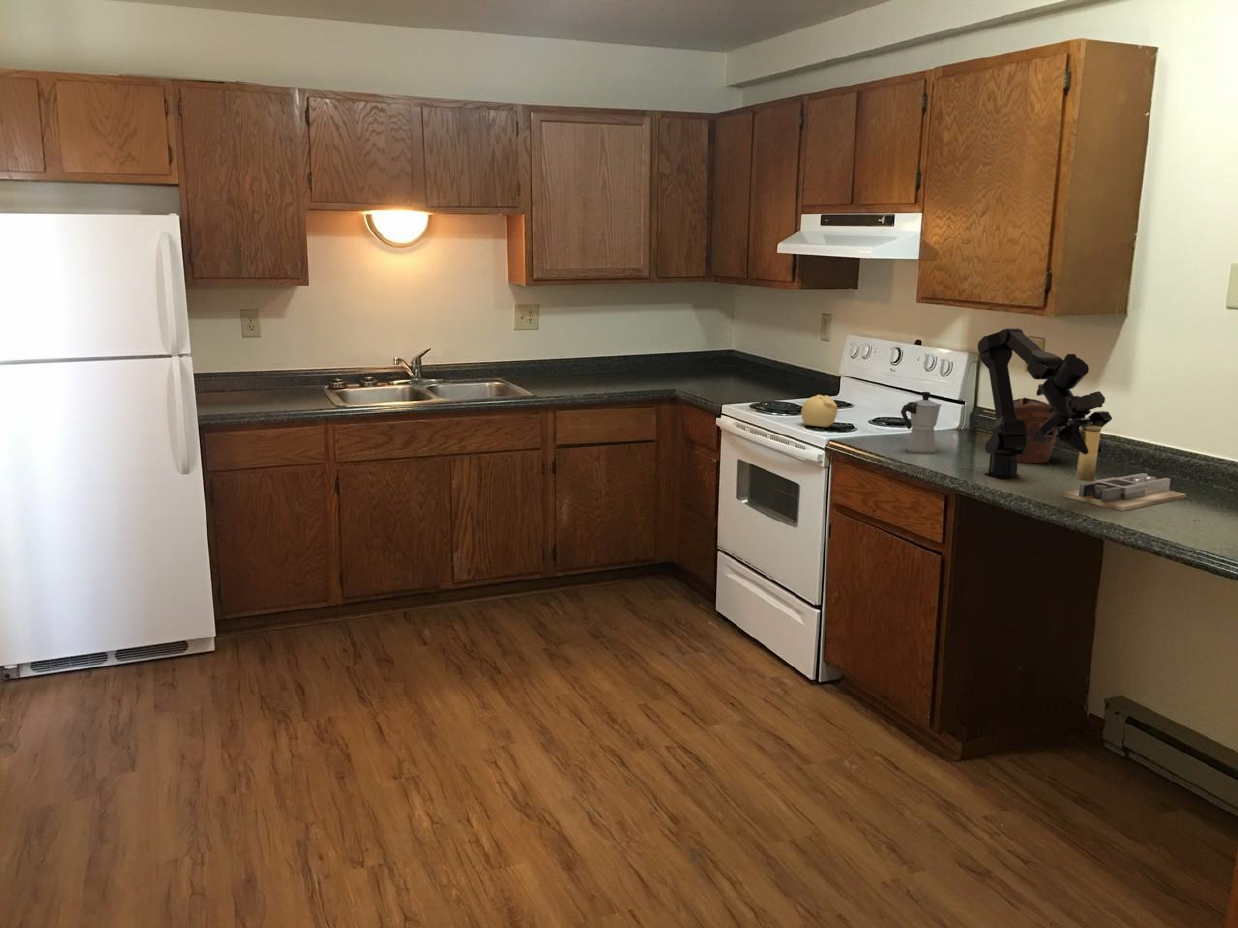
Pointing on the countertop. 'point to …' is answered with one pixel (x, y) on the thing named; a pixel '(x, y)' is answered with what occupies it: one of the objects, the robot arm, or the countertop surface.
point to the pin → (1089, 460)
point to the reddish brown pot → (1035, 430)
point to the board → (1129, 503)
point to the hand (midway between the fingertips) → (1093, 452)
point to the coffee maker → (921, 424)
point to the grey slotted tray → (1124, 487)
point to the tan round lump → (819, 411)
